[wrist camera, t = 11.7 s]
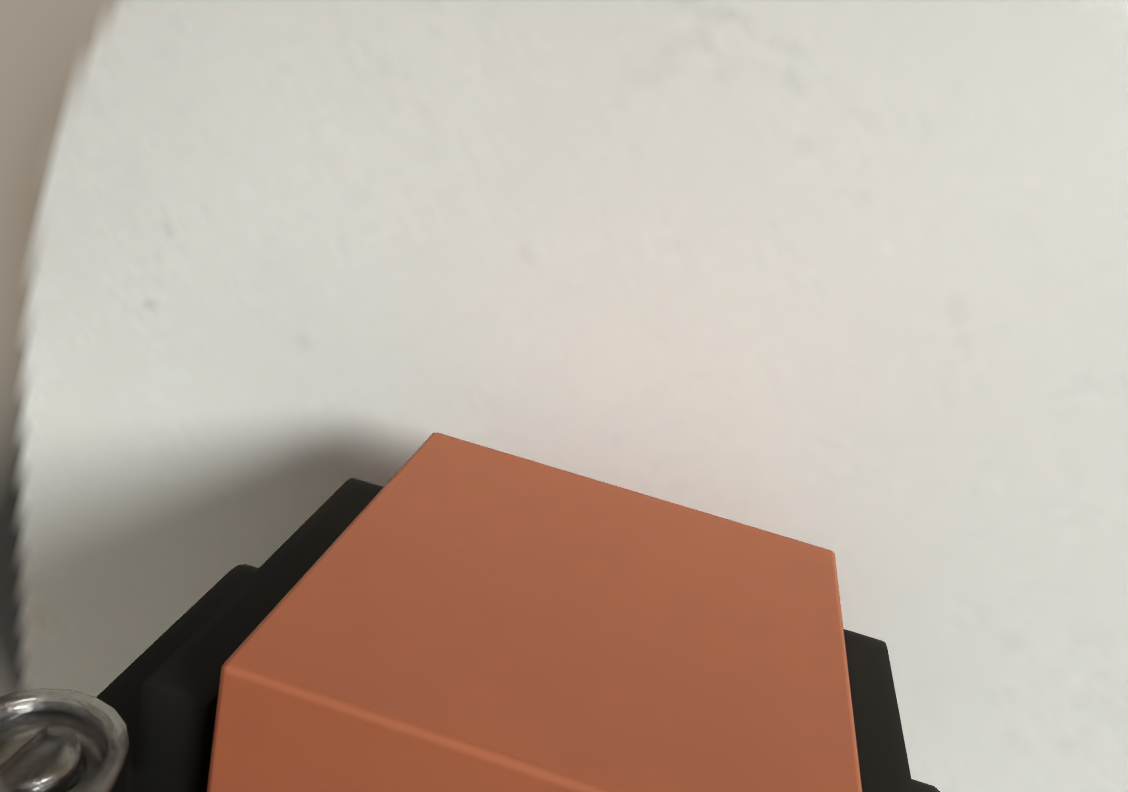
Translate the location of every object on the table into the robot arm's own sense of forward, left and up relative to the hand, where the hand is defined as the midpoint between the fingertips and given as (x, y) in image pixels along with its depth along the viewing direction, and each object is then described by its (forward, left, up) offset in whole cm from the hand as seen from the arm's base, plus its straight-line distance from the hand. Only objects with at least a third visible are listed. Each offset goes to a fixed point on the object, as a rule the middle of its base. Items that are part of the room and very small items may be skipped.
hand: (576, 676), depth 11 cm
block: (0, 0, 0) cm, 0 cm away
